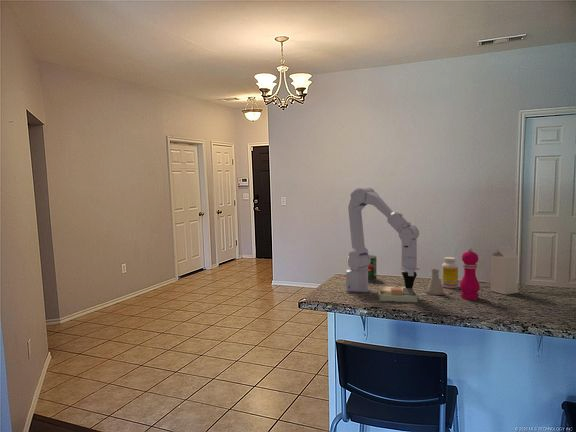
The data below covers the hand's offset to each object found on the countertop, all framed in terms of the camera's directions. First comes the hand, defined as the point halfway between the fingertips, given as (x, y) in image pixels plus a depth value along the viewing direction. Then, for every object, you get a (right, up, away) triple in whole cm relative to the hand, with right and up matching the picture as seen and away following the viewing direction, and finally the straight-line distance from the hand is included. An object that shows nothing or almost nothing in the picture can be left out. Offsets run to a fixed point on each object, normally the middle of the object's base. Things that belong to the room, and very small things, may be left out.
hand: (408, 290), depth 164 cm
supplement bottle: (+23, -2, +18) cm, 29 cm away
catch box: (-5, -3, -2) cm, 6 cm away
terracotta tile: (-6, -1, -1) cm, 6 cm away
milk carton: (+41, -2, +7) cm, 42 cm away
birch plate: (-4, -3, +5) cm, 7 cm away
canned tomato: (-9, -1, +36) cm, 37 cm away
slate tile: (-1, -2, -2) cm, 3 cm away
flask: (+13, -3, +7) cm, 15 cm away
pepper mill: (+24, -3, -1) cm, 24 cm away
